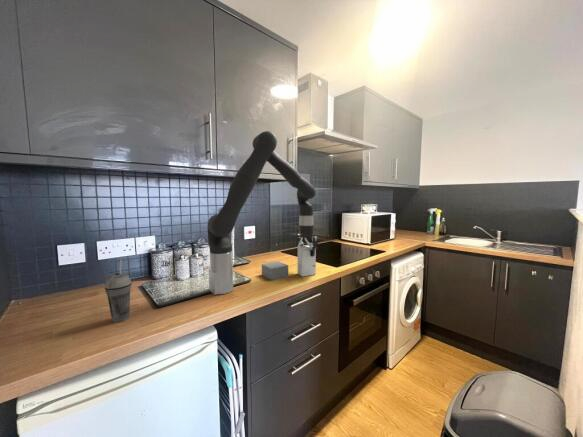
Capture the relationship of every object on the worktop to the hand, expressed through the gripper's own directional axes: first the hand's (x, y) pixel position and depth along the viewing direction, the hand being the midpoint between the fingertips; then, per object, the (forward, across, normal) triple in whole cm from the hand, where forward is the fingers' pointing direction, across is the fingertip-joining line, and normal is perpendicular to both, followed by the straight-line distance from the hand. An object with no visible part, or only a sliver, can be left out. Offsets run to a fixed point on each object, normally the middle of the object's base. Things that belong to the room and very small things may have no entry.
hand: (306, 254), depth 122 cm
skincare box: (+10, 0, 0) cm, 11 cm away
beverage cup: (+10, -7, -79) cm, 80 cm away
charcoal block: (+10, -9, -14) cm, 20 cm away
